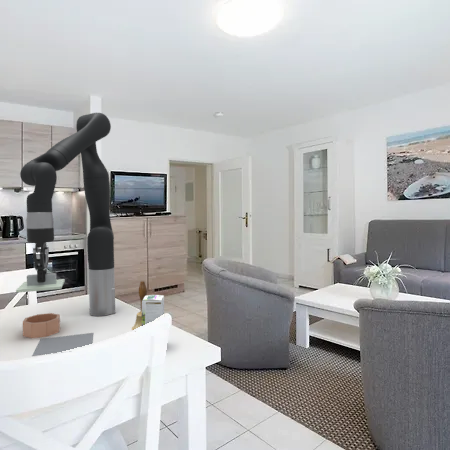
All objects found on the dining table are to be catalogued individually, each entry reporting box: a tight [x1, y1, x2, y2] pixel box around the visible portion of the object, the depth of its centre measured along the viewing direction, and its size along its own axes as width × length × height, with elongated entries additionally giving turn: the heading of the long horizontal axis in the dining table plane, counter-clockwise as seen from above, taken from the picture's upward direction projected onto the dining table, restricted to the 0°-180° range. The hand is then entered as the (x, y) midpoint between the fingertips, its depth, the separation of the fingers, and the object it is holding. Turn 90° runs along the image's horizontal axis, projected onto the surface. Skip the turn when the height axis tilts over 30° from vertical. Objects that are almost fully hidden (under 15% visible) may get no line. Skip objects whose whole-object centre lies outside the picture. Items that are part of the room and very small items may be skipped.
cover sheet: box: [15, 272, 66, 293], centre depth 108 cm, size 12×12×4 cm
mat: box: [31, 332, 95, 357], centre depth 100 cm, size 15×13×1 cm
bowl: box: [22, 312, 61, 339], centre depth 109 cm, size 10×10×5 cm
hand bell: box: [131, 280, 148, 331], centre depth 112 cm, size 8×8×16 cm
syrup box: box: [142, 294, 165, 326], centre depth 98 cm, size 6×6×14 cm
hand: (42, 281), depth 108 cm, fingers closed on cover sheet, 2 cm apart
